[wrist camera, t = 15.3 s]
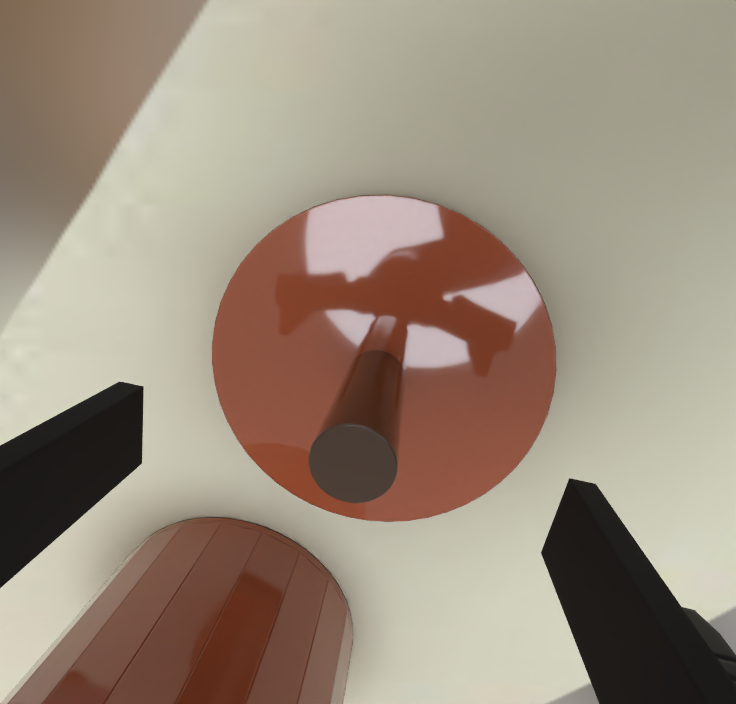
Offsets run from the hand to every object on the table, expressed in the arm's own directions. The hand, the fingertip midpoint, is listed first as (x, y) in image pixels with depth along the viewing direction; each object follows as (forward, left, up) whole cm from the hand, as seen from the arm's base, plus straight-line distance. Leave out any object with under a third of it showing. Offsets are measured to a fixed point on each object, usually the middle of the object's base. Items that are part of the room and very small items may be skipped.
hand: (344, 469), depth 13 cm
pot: (+6, +19, -9) cm, 22 cm away
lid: (0, 0, -9) cm, 9 cm away
